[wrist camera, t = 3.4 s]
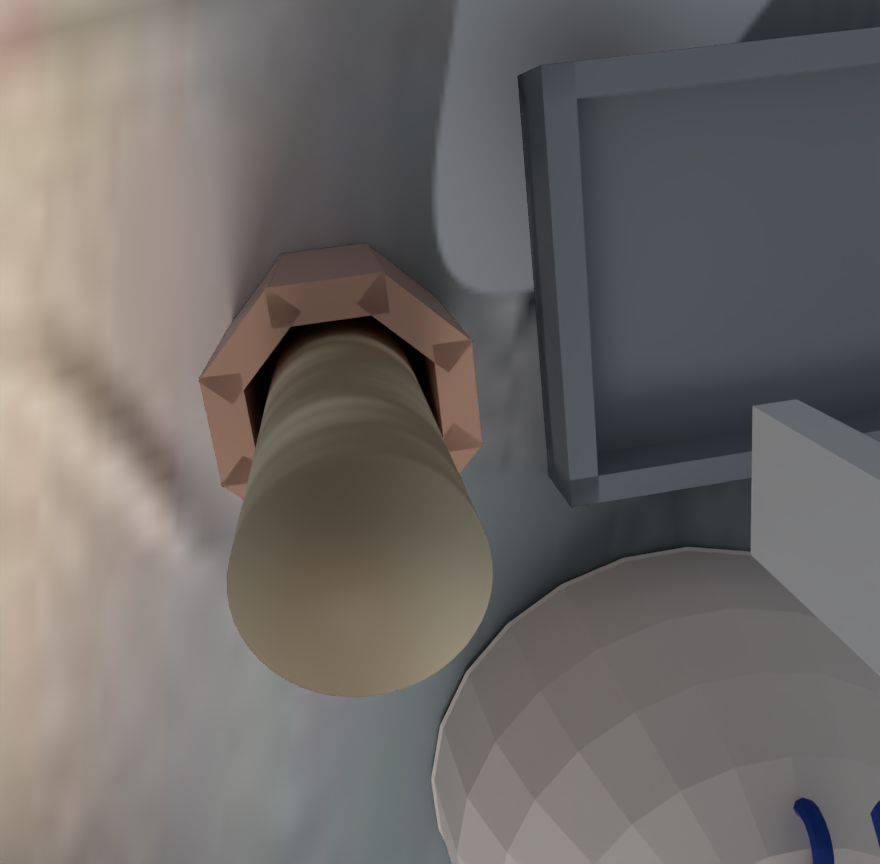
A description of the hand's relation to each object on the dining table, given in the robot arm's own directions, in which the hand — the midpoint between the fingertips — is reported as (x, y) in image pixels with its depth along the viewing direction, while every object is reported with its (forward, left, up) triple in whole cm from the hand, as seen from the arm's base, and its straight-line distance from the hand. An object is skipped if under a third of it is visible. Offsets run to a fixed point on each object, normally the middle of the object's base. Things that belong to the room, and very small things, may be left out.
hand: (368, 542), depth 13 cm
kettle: (+11, -20, -17) cm, 28 cm away
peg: (0, 0, -15) cm, 15 cm away
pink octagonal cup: (0, 0, -16) cm, 16 cm away
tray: (+18, +1, -16) cm, 24 cm away
